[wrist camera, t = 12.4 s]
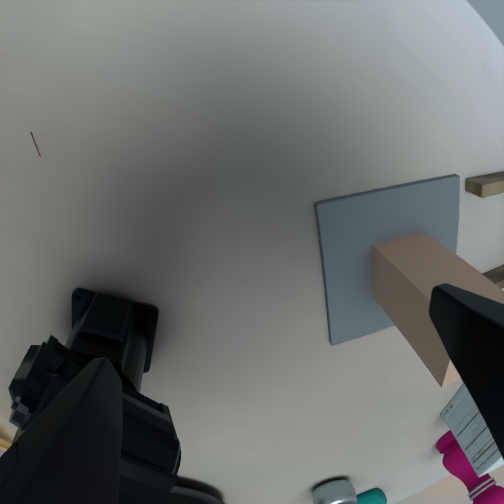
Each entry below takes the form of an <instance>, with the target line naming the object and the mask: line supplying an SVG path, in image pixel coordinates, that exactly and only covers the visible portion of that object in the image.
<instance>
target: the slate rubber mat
mask: <svg viewBox="0 0 504 504" xmlns="http://www.w3.org/2000/svg"><path fill="white" fill-rule="evenodd" d="M459 189H460V176H458V175H456V174H455V175H449V176H444V177H439V178H433V179H428V180H423V181H418V182H413V183H408V184H403V185H398V186H393V187H388V188H383V189H378V190H373V191H369V192H364V193H359V194H354V195H350V196H345V197H340V198H336V199H331V200H327V201H322V202H318V203H315V210H316V217H317V225H318V232H319V240H320V248H321V257H322V265H323V274H324V284H325V294H326V304H327V315H328V326H329V339H330V344H331V346H333V345H336V344H340V343H343V342H346V341H349V340H353V339H356V338H359V337H362V336H365V335H368V334H371V333H374V332H377V331H380V330H383V329H385V328H388V327H391V326H394V325H395V324H394V323H393V321H392V320H391V319H390V318H389V316H388V315H387V314H386V312H385V311H384V310H383V309H382V307H381V306H380V305H379V304H378V302H377V301H376V300H375V298H374V297H373V245H375V244H378V243H382V242H386V241H390V240H393V239H397V238H401V237H404V236H408V235H412V234H415V233H419V232H423V231H424V232H425V233H426V234H428V235H429V236H431V237H432V238H434V239H435V240H437V241H438V242H439V243H441V244H442V245H444V246H445V247H446V248H448V249H449V250H451V251H452V252H453V253H455V254H456V248H457V236H458V220H459Z"/></svg>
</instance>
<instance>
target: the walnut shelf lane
mask: <svg viewBox="0 0 504 504" xmlns="http://www.w3.org/2000/svg"><path fill="white" fill-rule="evenodd" d="M466 191H468V192H470V193H472V194H474V195H477V196H479V197H481V198H483V197H487V196H491V195H495V194H499V193H503V192H504V172H498V173H493V174H488V175H483V176H477V177H472V178H467V179H466ZM483 275H484V276H485V277H486V278H488V279H489V280H490V281H491V282H493V283H494V284H495V285H496V286H498V287H499V288H500V289H502V288H504V265H502V266H500V267H498V268H496V269H493V270H491V271H489V272H486V273H484V274H483Z"/></svg>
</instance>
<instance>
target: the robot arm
mask: <svg viewBox="0 0 504 504" xmlns="http://www.w3.org/2000/svg"><path fill="white" fill-rule="evenodd" d="M77 294H79V295H80V296H81V297H78V296H77ZM149 312H153V313H154V314H153V315H151V314H150V313H149ZM158 315H159V311H158V309H157V308H156V307H154V306H151V305H146V304H142V303H137V302H133V301H130V300H127V299H123V298H119V297H115V296H111V295H106V294H102V293H96V292H92V291H88V290H84V289H80V288H77V289H75V290H74V292H73V293H72V332H71V334H70V336H69V338H68V340H67V343H66V345H65V346H63V345H62V344H60V343H59V342H58V339H56V338H55V337H53V336H52V335H51V336H50V337H49V339H48V341H47V342H46V343H45V342H44V341H43V343H42V345H31V346H30V348H29V350H28V352H27V353H26V355H25V357H24V359H23V361H22V363H21V365H20V367H19V368H18V370H17V372H16V374H15V376H14V378H13V380H12V382H11V384H10V386H9V388H8V389H9V392H10V395H11V398H12V405H11V409H13V410H12V413H11V416H10V420H9V422H11V423H12V424H14V425H15V426H17V427H18V430H17V432H16V435H15V437H14V440H13V442H12V445H11V446H10V447H9V449H8V450H7V451H6V452H5V453H4V454H3V455H2V456H1V457H0V504H164V503H165V501H166V499H167V497H168V495H169V492H170V491H171V489H172V488H173V486H174V485H175V483H176V482H177V480H178V475H176V474H177V472H178V469H179V466H180V461H181V449H180V442H179V439H178V438H177V435H176V432H175V428H174V425H173V421H172V418H171V415H170V411H169V408H168V406H166V405H164V404H162V403H160V404H159V403H157V402H155V401H153V400H151V399H150V398H148V397H146V396H144V395H142V394H140V388H141V381H142V375H143V373H146V372H148V371H149V369H150V362H151V356H152V349H153V343H154V337H155V332H156V326H157V320H158ZM429 316H430V319H431V321H432V323H433V325H434V327H435V329H436V331H437V333H438V335H439V337H440V339H441V341H442V343H443V346H444V348H445V350H446V352H447V354H448V356H449V358H450V360H451V362H452V363H453V365H454V367H455V369H456V370H457V372H458V374H459V375H460V377H461V379H462V381H463V382H464V384H465V386H466V388H467V389H468V391H469V393H470V395H471V397H472V398H473V400H474V402H475V404H476V406H477V408H478V410H479V411H480V413H481V415H482V417H483V419H484V421H485V423H486V425H487V427H488V429H489V431H490V433H491V435H492V437H493V439H494V441H495V443H496V445H497V447H498V449H499V452H500V454H501V456H502V458H503V460H504V304H502V303H500V302H497V301H494V300H492V299H489V298H486V297H484V296H481V295H478V294H475V293H473V292H470V291H467V290H464V289H462V288H459V287H456V286H453V285H450V284H448V283H443V284H440V285H436V286H434V287H433V289H432V292H431V299H430V305H429Z"/></svg>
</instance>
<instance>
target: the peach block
mask: <svg viewBox="0 0 504 504" xmlns="http://www.w3.org/2000/svg"><path fill="white" fill-rule="evenodd" d="M443 283H448V284H450V285H453V286H456V287H459V288H462V289H464V290H467V291H470V292H473V293H475V294H478V295H481V296H484V297H486V298H489V299H492V300H494V301H497V302H500V303H502V304H504V291H503V290H501V289H500V288H499V287H498V286H496V285H495V284H494V283H493V282H491V281H490V280H489V279H488V278H486V277H485V276H484V275H483V274H481V273H480V272H479V271H477V270H476V269H475V268H473V267H472V266H471V265H470V264H468V263H467V262H466V261H464V260H463V259H462V258H460V257H459V256H457V255H456V254H455V253H453V252H452V251H451V250H449V249H448V248H446V247H445V246H444V245H442V244H441V243H439V242H438V241H437V240H435V239H434V238H432V237H431V236H429V235H428V234H426V233H425V232H424V231H423V232H419V233H415V234H412V235H408V236H404V237H401V238H397V239H393V240H390V241H386V242H382V243H378V244H375V245H373V297H374V298H375V300H376V301H377V302H378V304H379V305H380V306H381V307H382V309H383V310H384V311H385V312H386V314H387V315H388V316H389V318H390V319H391V320H392V321H393V323H394V324H395V325H396V327H397V328H398V329H399V331H400V332H401V333H402V334H403V336H404V337H405V338H406V340H407V341H408V342H409V344H410V345H411V346H412V348H413V349H414V350H415V352H416V353H417V354H418V356H419V357H420V359H421V360H422V361H423V363H424V364H425V365H426V367H427V368H428V369H429V371H430V372H431V374H432V375H433V376H434V378H435V379H436V381H437V382H438V383H439V385H440V386H441V388H442V387H444V386H446V385H448V384H450V383H452V382H454V381H456V380H458V379H460V378H461V377H460V375H459V374H458V372H457V370H456V369H455V367H454V365H453V363H452V362H451V360H450V358H449V356H448V354H447V352H446V350H445V348H444V346H443V343H442V341H441V339H440V337H439V335H438V333H437V331H436V329H435V327H434V325H433V323H432V321H431V319H430V316H429V305H430V299H431V292H432V289H433V287H434V286H436V285H440V284H443Z"/></svg>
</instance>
